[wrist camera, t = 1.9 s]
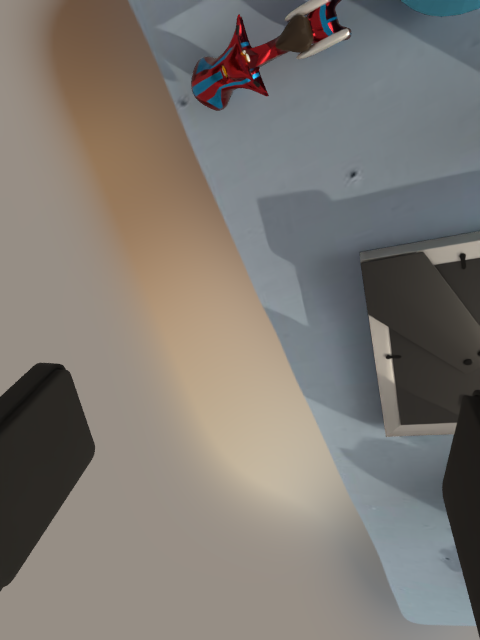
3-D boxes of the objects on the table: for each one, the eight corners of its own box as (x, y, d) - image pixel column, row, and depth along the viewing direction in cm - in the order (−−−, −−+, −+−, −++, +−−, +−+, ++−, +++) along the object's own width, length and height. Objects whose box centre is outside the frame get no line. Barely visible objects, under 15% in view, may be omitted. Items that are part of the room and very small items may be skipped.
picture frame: (359, 252, 37) (384, 423, 46) (360, 263, 35) (386, 441, 44) (564, 216, 32) (547, 415, 41) (582, 226, 30) (560, 435, 39)
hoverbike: (188, 58, 33) (162, 54, 28) (336, -25, 28) (334, -47, 23) (214, 124, 35) (194, 130, 30) (356, 55, 30) (359, 50, 25)
